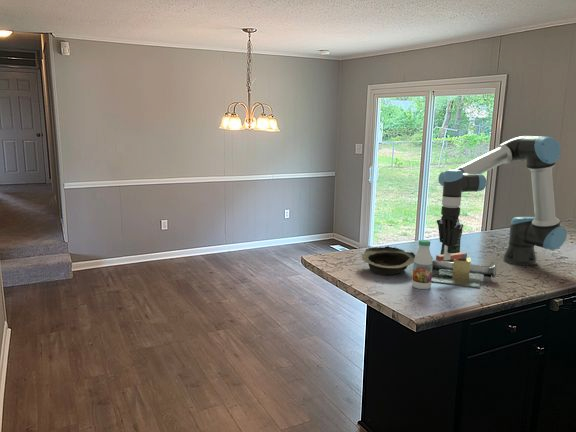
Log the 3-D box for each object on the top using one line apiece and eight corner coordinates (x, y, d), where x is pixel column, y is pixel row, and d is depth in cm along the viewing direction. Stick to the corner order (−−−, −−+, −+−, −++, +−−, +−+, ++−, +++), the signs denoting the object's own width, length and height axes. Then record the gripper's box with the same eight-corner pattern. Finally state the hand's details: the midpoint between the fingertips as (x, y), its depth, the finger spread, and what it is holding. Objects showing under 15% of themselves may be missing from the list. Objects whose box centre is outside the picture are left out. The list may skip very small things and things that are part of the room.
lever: (462, 257, 212) (462, 251, 211) (468, 259, 209) (468, 253, 208) (434, 260, 206) (435, 254, 205) (440, 262, 202) (440, 257, 202)
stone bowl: (399, 261, 233) (401, 244, 231) (423, 281, 210) (426, 262, 207) (352, 263, 228) (354, 245, 226) (372, 283, 204) (374, 263, 202)
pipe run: (493, 275, 214) (495, 257, 213) (495, 290, 194) (497, 270, 193) (421, 266, 226) (423, 249, 224) (416, 280, 206) (417, 261, 204)
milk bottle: (409, 283, 201) (412, 238, 197) (426, 283, 202) (430, 238, 198) (415, 289, 193) (419, 243, 190) (433, 289, 194) (437, 243, 190)
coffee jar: (450, 263, 232) (453, 227, 229) (437, 259, 239) (440, 224, 235) (462, 260, 237) (465, 225, 234) (449, 257, 244) (452, 222, 240)
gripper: (469, 207, 195) (464, 262, 199) (445, 203, 206) (441, 255, 211) (456, 209, 192) (452, 264, 196) (433, 204, 203) (429, 257, 207)
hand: (446, 259), depth 203 cm, fingers closed
